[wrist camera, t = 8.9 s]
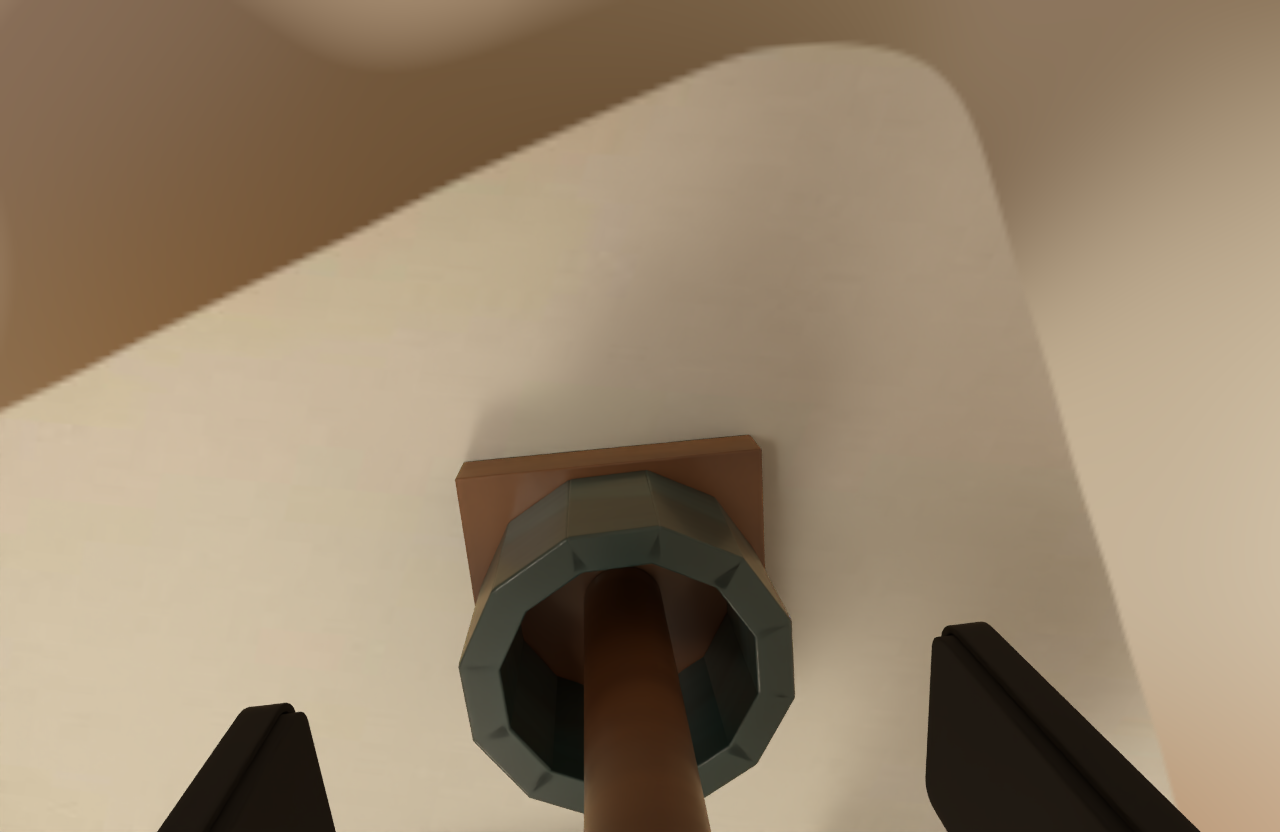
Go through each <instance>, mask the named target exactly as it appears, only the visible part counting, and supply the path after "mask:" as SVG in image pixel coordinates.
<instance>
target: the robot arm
mask: <svg viewBox="0 0 1280 832" xmlns="http://www.w3.org/2000/svg"><path fill="white" fill-rule="evenodd" d="M926 789H927V793H928V797H929V799H930V802H931V804H932V806H933V808H934V810H935V812H936V814H937V815H938V817H939V818H940V820H941V822H942V823H943V825H944V827H945V828H946V830H947V832H1200V831H1199V830H1198V829H1197V828H1196V827H1195V826H1194V825H1193V824H1192V823H1191V822H1190V821H1189V820H1188V819H1187V818H1186V817H1185V816H1184V815H1183V814H1182V813H1181V812H1180V811H1179V810H1178V809H1177V808H1176V807H1175V806H1174V805H1173V804H1172V803H1171V802H1170V801H1169V800H1168V799H1167V798H1166V797H1165V796H1164V795H1162V794H1161V793H1160V792H1159V791H1158V790H1157V789H1156V788H1155V787H1154V786H1153V785H1152V784H1151V783H1150V782H1149V781H1148V780H1147V779H1146V778H1145V777H1144V776H1143V775H1142V774H1141V773H1140V772H1139V771H1138V770H1137V769H1136V768H1135V767H1134V766H1133V765H1132V764H1131V763H1130V762H1129V761H1128V760H1127V759H1126V758H1125V757H1124V756H1123V755H1122V754H1121V753H1120V752H1119V751H1118V750H1117V749H1116V748H1115V747H1114V746H1113V745H1112V744H1111V743H1110V742H1109V741H1107V740H1106V739H1105V738H1104V737H1103V736H1102V735H1101V734H1100V733H1099V732H1098V731H1097V730H1096V729H1095V728H1094V727H1093V726H1092V725H1091V724H1090V723H1089V722H1088V721H1087V720H1086V719H1085V718H1084V717H1083V716H1082V715H1081V714H1080V713H1079V712H1078V711H1077V710H1076V709H1075V708H1074V707H1073V706H1072V705H1071V704H1070V703H1069V702H1068V701H1067V700H1066V699H1065V698H1064V697H1063V696H1062V695H1061V694H1060V693H1059V692H1058V691H1057V690H1056V689H1055V688H1054V687H1053V686H1051V685H1050V684H1049V683H1048V682H1047V681H1046V680H1045V679H1044V678H1043V677H1042V676H1041V675H1040V674H1039V673H1038V672H1037V671H1036V670H1035V669H1034V668H1033V667H1032V666H1031V665H1030V664H1029V663H1028V662H1027V661H1026V660H1025V659H1024V658H1023V657H1022V656H1021V655H1020V654H1019V653H1018V652H1017V651H1016V650H1015V649H1014V648H1013V647H1012V646H1011V645H1010V644H1009V643H1008V642H1007V641H1006V640H1005V639H1004V638H1003V637H1002V636H1001V635H1000V634H999V633H998V632H997V631H995V630H994V629H993V628H992V627H991V626H990V625H989V624H987V623H986V622H975V623H966V624H958V625H949V626H946V627H945V628H944V629H943V631H942V636H941V637H936V638H934V640H933V643H932V656H931V676H930V696H929V717H928V737H927V758H926ZM157 832H336V831H335V827H334V823H333V819H332V815H331V811H330V807H329V803H328V799H327V795H326V791H325V787H324V783H323V779H322V775H321V771H320V767H319V763H318V759H317V755H316V751H315V747H314V743H313V739H312V735H311V731H310V727H309V723H308V719H307V716H306V715H305V714H304V713H303V712H295V710H294V708H293V706H292V705H291V704H289V703H281V704H272V705H264V706H255V707H248V708H246V709H243V710H242V712H241V713H240V714H239V715H238V716H237V718H236V719H235V721H234V722H233V724H232V725H231V726H230V728H229V729H228V731H227V732H226V734H225V735H224V736H223V738H222V739H221V741H220V742H219V744H218V745H217V747H216V748H215V749H214V751H213V752H212V754H211V755H210V757H209V758H208V760H207V761H206V762H205V764H204V765H203V767H202V768H201V770H200V771H199V772H198V774H197V775H196V777H195V778H194V780H193V781H192V783H191V784H190V785H189V787H188V788H187V790H186V791H185V793H184V794H183V796H182V797H181V798H180V800H179V801H178V803H177V804H176V806H175V807H174V808H173V810H172V811H171V813H170V814H169V816H168V817H167V819H166V820H165V821H164V823H163V824H162V826H161V827H160V829H159V830H158V831H157Z"/></svg>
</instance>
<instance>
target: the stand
mask: <svg viewBox="0 0 1280 832" xmlns="http://www.w3.org/2000/svg"><path fill="white" fill-rule="evenodd" d="M642 470H648V471H651V472H653V473H656V474H658V475H661V476H663V477H666V478H668V479H671V480H673V481H676V482H678V483H681V484H683V485H686V486H688V487H691V488H693V489H696V490H698V491H701V492H703V493H706V494H708V495H711V496H713V497H715V498H716V499H717V501H718V502H719V503H720V505H721V506H722V507H723V509H724V510H725V511H726V513H727V514H728V515H729V517H730V518H731V519H732V521H733V522H734V523H735V525H736V526H737V527H738V529H739V530H740V531H741V533H742V534H743V536H744V537H745V538H746V540H747V541H748V542H749V544H750V545H751V546H752V548H753V549H754V550H755V552H756V554H757V556H758V558H759V560H760V562H761V563H762V565H763V567H764V569H765V553H764V519H763V484H762V450H761V448H760V447H759V446H758V445H757V443H756V442H755V441H754V440H753V438H752V437H751V436H750V435H742V436H732V437H721V438H711V439H700V440H690V441H680V442H669V443H659V444H649V445H638V446H628V447H618V448H607V449H597V450H586V451H576V452H566V453H555V454H545V455H535V456H524V457H514V458H504V459H493V460H483V461H473V462H464V463H463V465H462V467H461V469H460V471H459V473H458V475H457V477H456V479H455V482H456V488H457V495H458V501H459V507H460V514H461V520H462V526H463V533H464V539H465V545H466V551H467V558H468V564H469V570H470V577H471V583H472V589H473V596H474V602H475V606H476V602H477V599H478V595H479V592H480V588H481V585H482V583H483V580H484V578H485V576H486V573H487V571H488V569H489V566H490V564H491V562H492V559H493V557H494V555H495V552H496V550H497V548H498V546H499V543H500V541H501V539H502V536H503V534H504V532H505V529H506V527H507V525H508V523H510V521H512V520H513V519H515V518H516V517H517V516H519V515H520V514H522V513H523V512H524V511H526V510H527V509H529V508H530V507H531V506H533V505H534V504H536V503H537V502H538V501H540V500H541V499H543V498H544V497H545V496H547V495H548V494H550V493H551V492H552V491H554V490H555V489H557V488H558V487H559V486H561V485H562V484H564V483H565V482H566V481H568V480H571V479H577V478H585V477H593V476H601V475H610V474H618V473H626V472H634V471H642ZM726 614H727V601H726V600H725V598H724V597H723V596H722V594H721V593H720V592H719V591H718V589H717V588H716V587H713V586H710V585H708V584H705V583H702V582H700V581H697V580H694V579H692V578H689V577H686V576H684V575H681V574H678V573H676V572H673V571H670V570H668V569H665V568H662V567H660V566H657V565H654V564H647V565H639V566H631V567H624V568H616V569H608V570H600V571H593V572H585V573H582V574H580V575H579V576H577V577H576V578H574V579H573V580H571V581H570V582H569V583H567V584H566V585H564V586H563V587H561V588H560V589H559V590H557V591H556V592H554V593H553V594H551V595H550V596H548V597H547V598H546V599H544V600H543V601H541V602H540V603H538V604H537V605H536V606H534V607H533V608H531V609H530V610H528V611H527V612H526V614H525V616H524V619H523V621H522V623H521V627H522V633H523V639H524V641H525V642H526V643H527V644H528V645H529V646H530V647H531V648H532V649H533V651H534V652H535V653H536V654H537V655H538V656H539V657H540V658H541V659H542V660H543V661H544V663H545V664H546V665H547V666H548V667H549V668H550V669H551V670H552V671H553V672H554V673H555V675H556V676H559V677H562V678H565V679H568V680H571V681H574V682H577V683H580V684H583V685H584V832H711V829H710V824H709V819H708V815H707V810H706V805H705V800H704V796H703V791H702V786H701V781H700V777H699V772H698V767H697V762H696V758H695V753H694V748H693V743H692V739H691V734H690V729H689V724H688V719H687V715H686V710H685V705H684V700H683V696H682V691H681V686H680V681H679V677H678V673H680V672H681V671H683V670H684V669H686V668H687V667H689V666H690V665H692V664H693V663H695V662H696V661H698V660H699V659H701V658H702V657H704V655H705V653H706V652H707V650H708V648H709V646H710V644H711V642H712V640H713V638H714V636H715V635H716V633H717V631H718V629H719V627H720V625H721V623H722V621H723V619H724V618H725V616H726Z"/></svg>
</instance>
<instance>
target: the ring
mask: <svg viewBox="0 0 1280 832" xmlns="http://www.w3.org/2000/svg"><path fill="white" fill-rule="evenodd" d="M647 564H654V565H657V566H660V567H662V568H665V569H668V570H670V571H673V572H676V573H678V574H681V575H684V576H686V577H689V578H692V579H694V580H697V581H700V582H702V583H705V584H708V585H710V586H713V587H716V588H717V589H718V591H719V592H720V593H721V594H722V596H723V597H724V598H725V600H726V601H727V614H726V616H725V618H724V619H723V621H722V623H721V625H720V627H719V629H718V631H717V633H716V635H715V636H714V638H713V640H712V642H711V644H710V646H709V648H708V650H707V652H706V653H705V655H704V657H702V658H701V659H699V660H698V661H696V662H695V663H693V664H692V665H690V666H689V667H687V668H686V669H684V670H683V671H681V672H680V673H678V677H679V681H680V686H681V691H682V696H683V700H684V705H685V710H686V715H687V719H688V724H689V729H690V734H691V739H692V743H693V748H694V753H695V758H696V762H697V767H698V772H699V777H700V781H701V786H702V791H703V796H704V798H705V797H707V796H708V795H710V794H711V793H713V792H714V791H716V790H717V789H719V788H720V787H722V786H724V785H725V784H727V783H728V782H730V781H731V780H733V779H734V778H736V777H738V776H739V775H741V774H742V773H744V772H745V771H747V770H748V769H750V768H751V767H753V766H755V765H756V764H757V763H758V761H759V759H760V758H761V756H762V754H763V752H764V751H765V749H766V747H767V745H768V744H769V742H770V740H771V738H772V737H773V735H774V733H775V731H776V730H777V728H778V726H779V724H780V723H781V721H782V719H783V717H784V716H785V714H786V712H787V710H788V709H789V707H790V705H791V703H792V702H793V700H794V698H795V684H794V662H793V639H792V621H791V618H790V617H789V615H788V613H787V611H786V609H785V607H784V605H783V603H782V601H781V599H780V598H779V596H778V594H777V592H776V590H775V588H774V586H773V584H772V582H771V580H770V579H769V577H768V575H767V573H766V571H765V569H764V567H763V565H762V563H761V562H760V560H759V558H758V556H757V554H756V552H755V550H754V549H753V548H752V546H751V545H750V544H749V542H748V541H747V540H746V538H745V537H744V536H743V534H742V533H741V531H740V530H739V529H738V527H737V526H736V525H735V523H734V522H733V521H732V519H731V518H730V517H729V515H728V514H727V513H726V511H725V510H724V509H723V507H722V506H721V505H720V503H719V502H718V501H717V499H716V498H715V497H713V496H711V495H708V494H706V493H703V492H701V491H698V490H696V489H693V488H691V487H688V486H686V485H683V484H681V483H678V482H676V481H673V480H671V479H668V478H666V477H663V476H661V475H658V474H656V473H653V472H651V471H648V470H642V471H634V472H626V473H618V474H610V475H601V476H593V477H585V478H577V479H571V480H568V481H566V482H565V483H564V484H562V485H561V486H559V487H558V488H557V489H555V490H554V491H552V492H551V493H550V494H548V495H547V496H545V497H544V498H543V499H541V500H540V501H538V502H537V503H536V504H534V505H533V506H531V507H530V508H529V509H527V510H526V511H524V512H523V513H522V514H520V515H519V516H517V517H516V518H515V519H513V520H512V521H510V523H508V525H507V527H506V529H505V532H504V534H503V536H502V539H501V541H500V543H499V546H498V548H497V550H496V552H495V555H494V557H493V559H492V562H491V564H490V566H489V569H488V571H487V573H486V576H485V578H484V580H483V583H482V585H481V588H480V592H479V595H478V599H477V602H476V606H475V609H474V613H473V616H472V620H471V623H470V627H469V630H468V634H467V637H466V641H465V644H464V648H463V651H462V655H461V658H460V662H459V672H460V677H461V682H462V687H463V692H464V697H465V702H466V707H467V712H468V717H469V722H470V727H471V732H472V737H473V741H474V742H475V743H476V744H477V745H478V746H479V747H480V748H481V749H482V750H483V751H484V752H485V753H486V754H487V755H488V756H489V757H490V758H491V759H492V760H493V761H494V762H495V763H496V764H497V765H498V766H499V767H500V768H501V769H502V770H503V771H504V772H505V773H506V774H507V775H508V776H509V777H510V778H511V779H512V780H513V781H514V782H515V783H516V784H517V785H518V786H519V787H520V788H521V789H522V790H523V791H524V792H525V793H526V794H527V795H528V797H529V798H533V799H536V800H540V801H543V802H546V803H550V804H553V805H556V806H560V807H563V808H567V809H570V810H573V811H577V812H580V813H583V814H584V685H583V684H580V683H577V682H574V681H571V680H568V679H565V678H562V677H559V676H556V675H555V673H554V672H553V671H552V670H551V669H550V668H549V667H548V666H547V665H546V664H545V663H544V661H543V660H542V659H541V658H540V657H539V656H538V655H537V654H536V653H535V652H534V651H533V649H532V648H531V647H530V646H529V645H528V644H527V643H526V642H525V641H524V639H523V633H522V627H521V623H522V621H523V619H524V616H525V614H526V612H527V611H528V610H530V609H531V608H533V607H534V606H536V605H537V604H538V603H540V602H541V601H543V600H544V599H546V598H547V597H548V596H550V595H551V594H553V593H554V592H556V591H557V590H559V589H560V588H561V587H563V586H564V585H566V584H567V583H569V582H570V581H571V580H573V579H574V578H576V577H577V576H579V575H580V574H582V573H585V572H593V571H600V570H608V569H616V568H624V567H631V566H639V565H647Z"/></svg>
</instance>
